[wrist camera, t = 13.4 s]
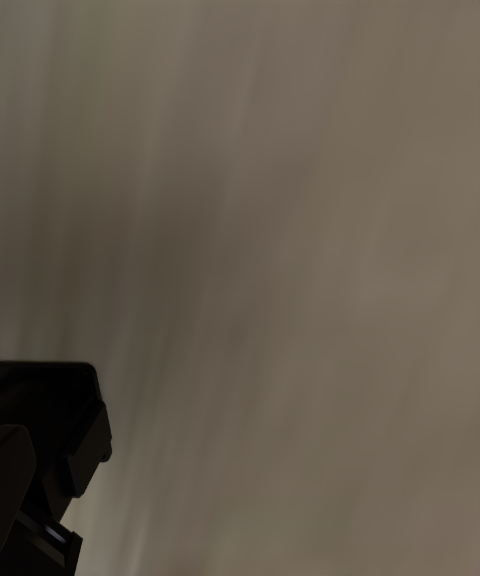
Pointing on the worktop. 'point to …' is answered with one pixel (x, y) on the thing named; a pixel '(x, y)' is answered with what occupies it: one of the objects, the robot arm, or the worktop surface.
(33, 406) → the robot arm
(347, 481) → the worktop surface
